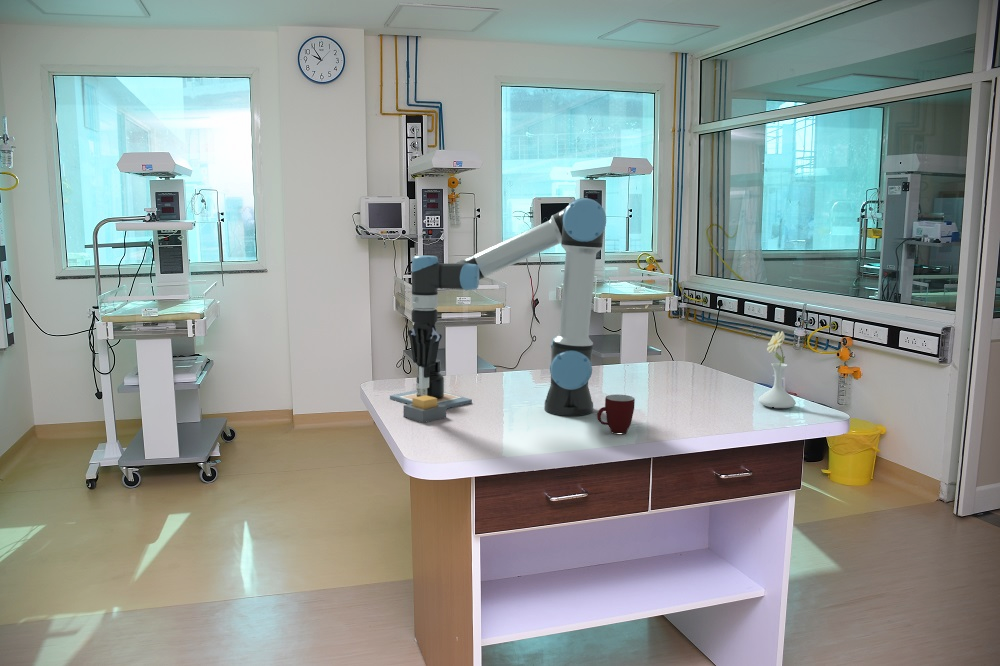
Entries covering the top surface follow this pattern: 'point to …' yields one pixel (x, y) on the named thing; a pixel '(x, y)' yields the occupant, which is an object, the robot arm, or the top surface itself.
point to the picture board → (446, 400)
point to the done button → (424, 402)
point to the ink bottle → (433, 383)
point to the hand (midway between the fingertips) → (424, 387)
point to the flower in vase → (777, 378)
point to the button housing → (424, 412)
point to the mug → (618, 412)
